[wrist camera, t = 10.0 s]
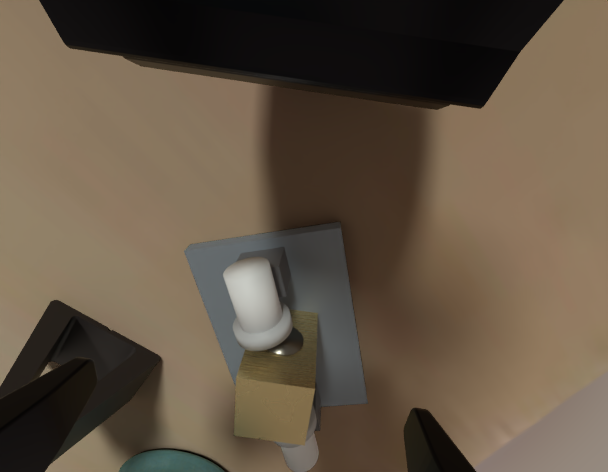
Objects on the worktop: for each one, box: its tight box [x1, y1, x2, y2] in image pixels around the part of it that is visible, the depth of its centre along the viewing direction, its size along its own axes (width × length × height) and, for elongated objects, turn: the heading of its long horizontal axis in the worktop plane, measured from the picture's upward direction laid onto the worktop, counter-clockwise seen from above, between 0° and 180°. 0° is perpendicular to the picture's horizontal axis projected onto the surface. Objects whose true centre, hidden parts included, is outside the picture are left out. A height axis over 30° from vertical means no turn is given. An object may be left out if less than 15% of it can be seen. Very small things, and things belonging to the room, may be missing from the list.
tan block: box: [234, 309, 318, 446], centre depth 19 cm, size 5×4×6 cm
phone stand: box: [0, 300, 160, 464], centre depth 20 cm, size 9×6×12 cm, turn 53°
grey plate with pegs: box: [184, 222, 368, 472], centre depth 20 cm, size 15×10×6 cm, turn 11°
